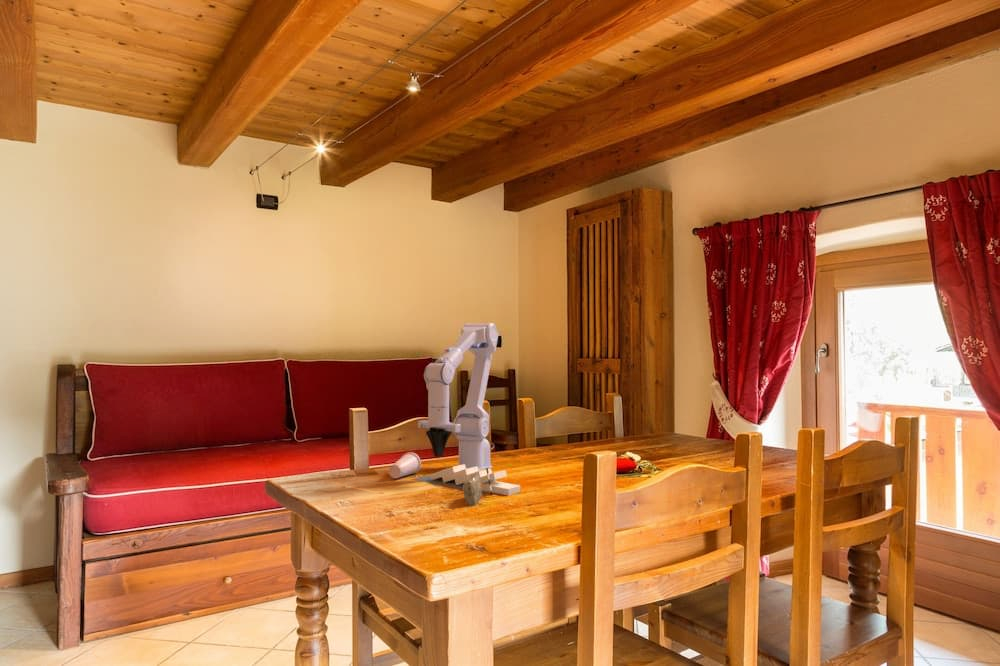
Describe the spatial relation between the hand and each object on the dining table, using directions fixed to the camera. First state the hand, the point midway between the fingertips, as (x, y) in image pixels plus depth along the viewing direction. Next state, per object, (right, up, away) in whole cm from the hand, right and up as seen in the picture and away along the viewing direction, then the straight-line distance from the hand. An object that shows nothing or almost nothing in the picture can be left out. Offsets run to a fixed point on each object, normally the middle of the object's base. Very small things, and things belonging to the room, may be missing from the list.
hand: (438, 456), depth 174 cm
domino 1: (0, -6, 0) cm, 6 cm away
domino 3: (+7, -5, -6) cm, 10 cm away
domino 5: (+14, -5, -11) cm, 18 cm away
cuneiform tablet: (+12, -7, -22) cm, 26 cm away
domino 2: (+3, -5, -3) cm, 7 cm away
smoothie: (-12, -4, -1) cm, 13 cm away
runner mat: (+6, -7, -5) cm, 10 cm away
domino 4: (+10, -5, -9) cm, 15 cm away
